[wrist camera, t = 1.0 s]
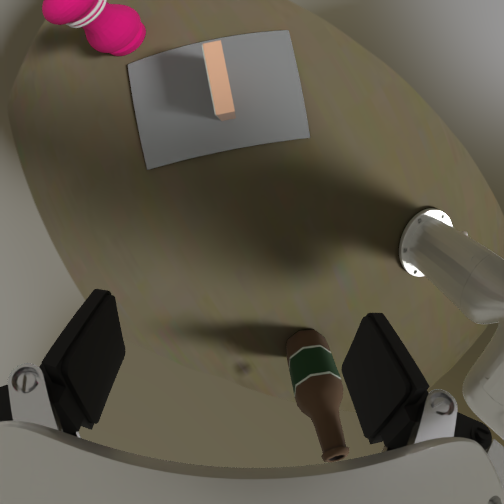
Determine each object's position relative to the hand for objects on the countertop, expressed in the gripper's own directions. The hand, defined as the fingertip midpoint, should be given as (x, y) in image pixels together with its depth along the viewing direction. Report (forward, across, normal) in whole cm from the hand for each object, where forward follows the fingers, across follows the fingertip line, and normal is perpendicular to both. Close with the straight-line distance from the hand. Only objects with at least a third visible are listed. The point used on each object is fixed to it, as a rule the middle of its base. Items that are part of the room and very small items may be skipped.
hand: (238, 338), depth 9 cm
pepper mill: (+29, +19, -22) cm, 41 cm away
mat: (+29, +5, -13) cm, 32 cm away
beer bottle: (+29, -15, +26) cm, 42 cm away
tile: (+28, +4, -13) cm, 31 cm away
